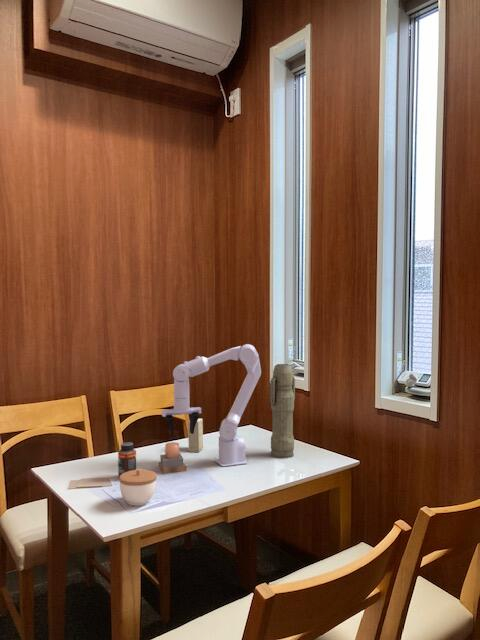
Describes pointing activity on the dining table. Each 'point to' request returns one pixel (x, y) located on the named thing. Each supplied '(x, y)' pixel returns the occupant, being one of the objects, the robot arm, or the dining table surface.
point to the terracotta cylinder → (172, 450)
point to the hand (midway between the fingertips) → (181, 434)
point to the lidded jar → (138, 486)
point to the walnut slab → (173, 469)
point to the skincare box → (196, 437)
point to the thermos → (282, 411)
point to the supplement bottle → (126, 458)
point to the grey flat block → (171, 461)
